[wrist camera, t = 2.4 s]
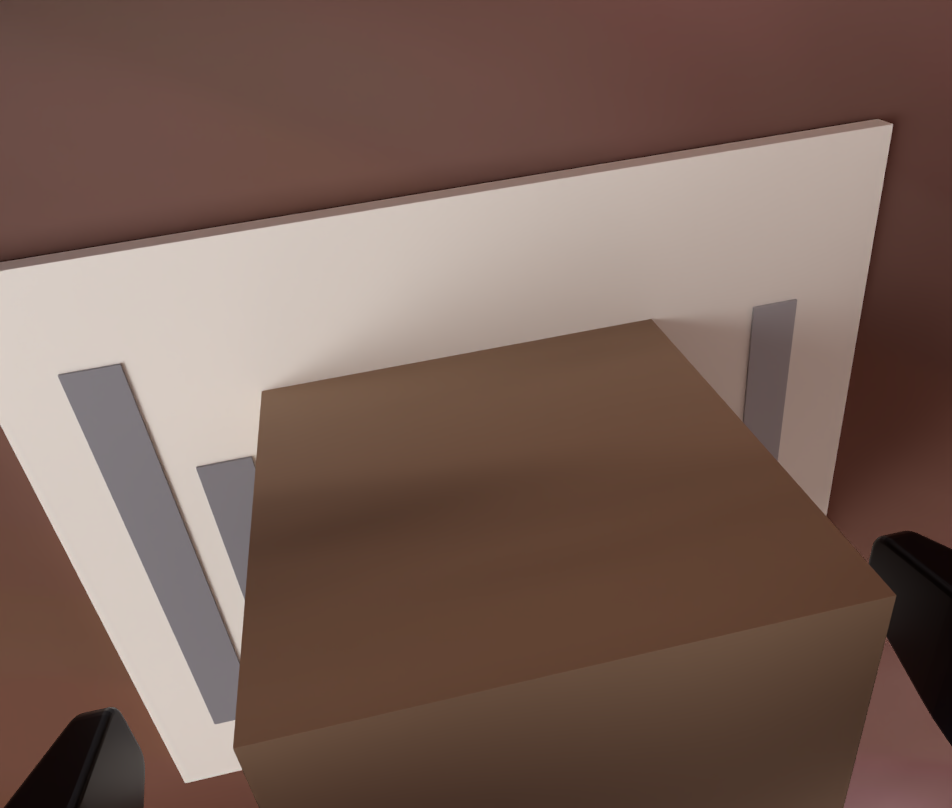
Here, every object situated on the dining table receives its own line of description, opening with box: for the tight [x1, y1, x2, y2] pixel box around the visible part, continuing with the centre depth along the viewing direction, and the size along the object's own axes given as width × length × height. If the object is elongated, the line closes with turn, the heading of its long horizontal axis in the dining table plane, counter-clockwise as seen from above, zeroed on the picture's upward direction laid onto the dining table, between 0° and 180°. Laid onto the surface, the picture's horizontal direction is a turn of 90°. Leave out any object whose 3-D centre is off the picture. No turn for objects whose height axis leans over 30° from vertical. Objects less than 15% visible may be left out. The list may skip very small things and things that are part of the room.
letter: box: [0, 119, 893, 783], centre depth 11 cm, size 9×11×1 cm
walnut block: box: [233, 319, 896, 808], centre depth 9 cm, size 5×5×5 cm
